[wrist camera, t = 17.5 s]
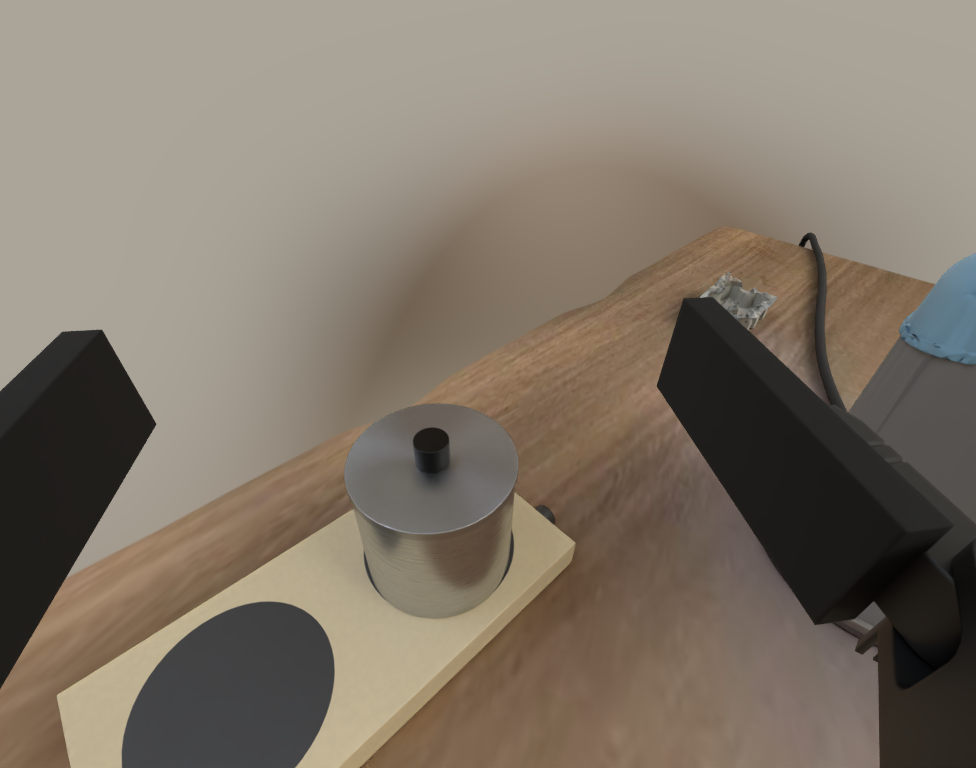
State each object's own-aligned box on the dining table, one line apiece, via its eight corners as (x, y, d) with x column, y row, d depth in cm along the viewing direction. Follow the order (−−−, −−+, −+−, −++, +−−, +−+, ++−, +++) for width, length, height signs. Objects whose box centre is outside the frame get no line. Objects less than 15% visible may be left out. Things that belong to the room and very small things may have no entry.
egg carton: (719, 296, 68) (728, 269, 65) (773, 316, 64) (785, 288, 61) (682, 321, 62) (691, 293, 59) (739, 345, 58) (751, 316, 55)
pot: (456, 471, 38) (452, 365, 31) (540, 559, 32) (557, 451, 25) (342, 537, 33) (309, 428, 26) (416, 655, 27) (398, 552, 21)
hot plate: (466, 457, 43) (465, 437, 41) (580, 554, 35) (585, 534, 34) (79, 711, 27) (55, 695, 25) (140, 981, 20) (111, 981, 18)
